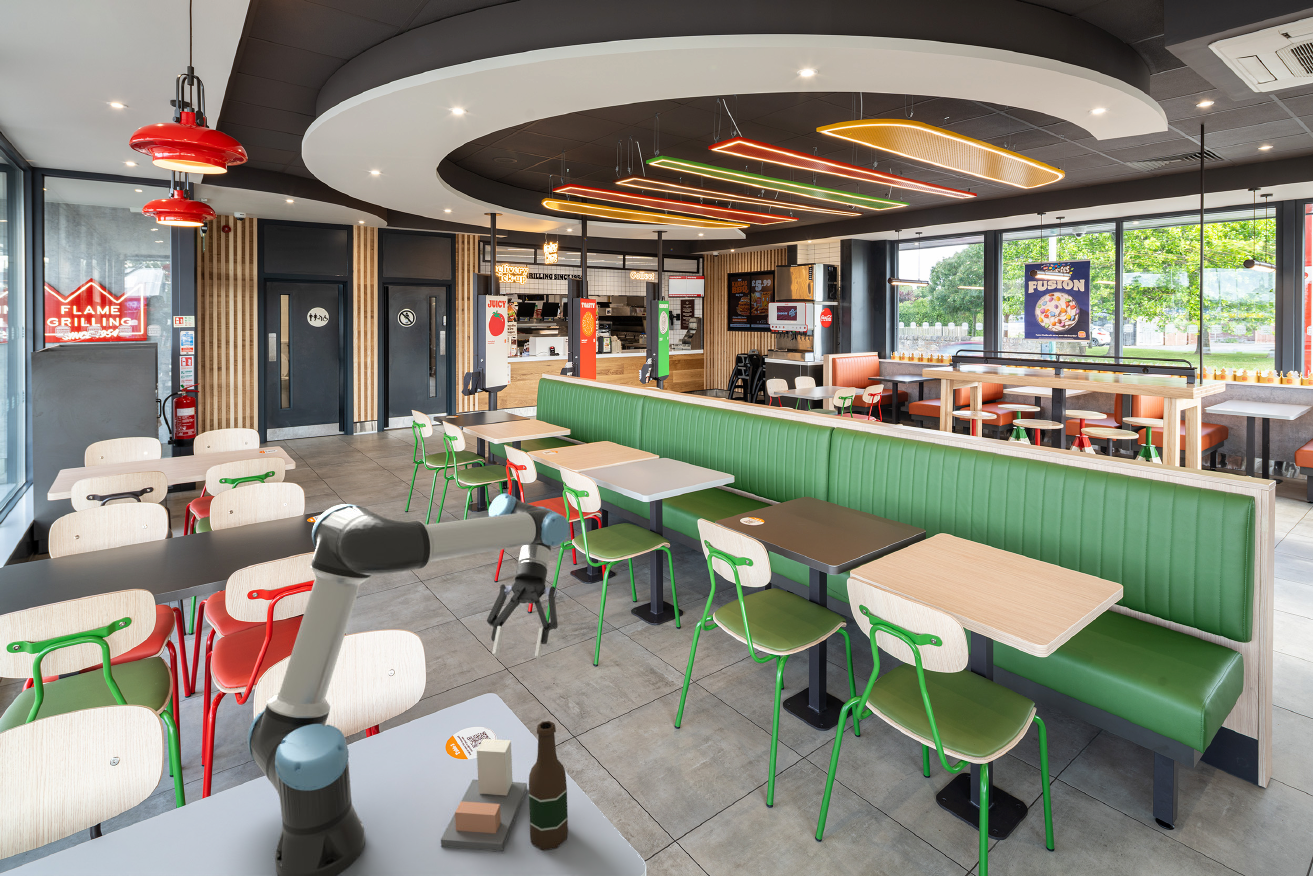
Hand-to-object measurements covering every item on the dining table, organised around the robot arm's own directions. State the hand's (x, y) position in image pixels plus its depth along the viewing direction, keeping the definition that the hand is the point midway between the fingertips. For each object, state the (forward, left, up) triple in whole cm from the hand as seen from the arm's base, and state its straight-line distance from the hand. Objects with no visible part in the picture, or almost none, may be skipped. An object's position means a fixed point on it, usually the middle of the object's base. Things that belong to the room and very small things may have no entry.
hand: (516, 656), depth 154 cm
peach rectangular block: (0, -27, -21) cm, 35 cm away
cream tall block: (0, -17, -21) cm, 27 cm away
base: (0, -23, -23) cm, 32 cm away
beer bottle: (+14, -27, -23) cm, 38 cm away
